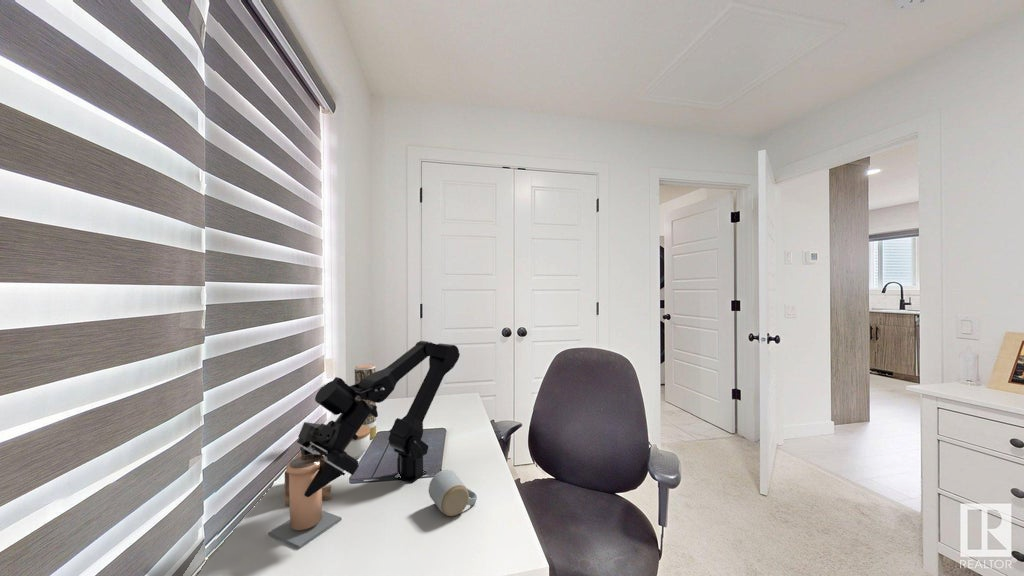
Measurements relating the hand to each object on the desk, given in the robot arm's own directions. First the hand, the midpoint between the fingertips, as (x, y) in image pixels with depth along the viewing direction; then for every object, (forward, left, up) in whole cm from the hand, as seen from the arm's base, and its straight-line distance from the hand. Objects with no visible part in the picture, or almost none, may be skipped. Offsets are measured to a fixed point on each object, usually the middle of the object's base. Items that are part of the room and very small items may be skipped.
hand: (299, 491), depth 79 cm
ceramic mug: (-26, -21, -9) cm, 34 cm away
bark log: (+26, -42, -9) cm, 50 cm away
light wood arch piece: (+12, -13, -8) cm, 20 cm away
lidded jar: (+19, -30, -9) cm, 37 cm away
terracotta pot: (0, -1, -7) cm, 7 cm away
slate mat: (0, -1, -8) cm, 9 cm away
